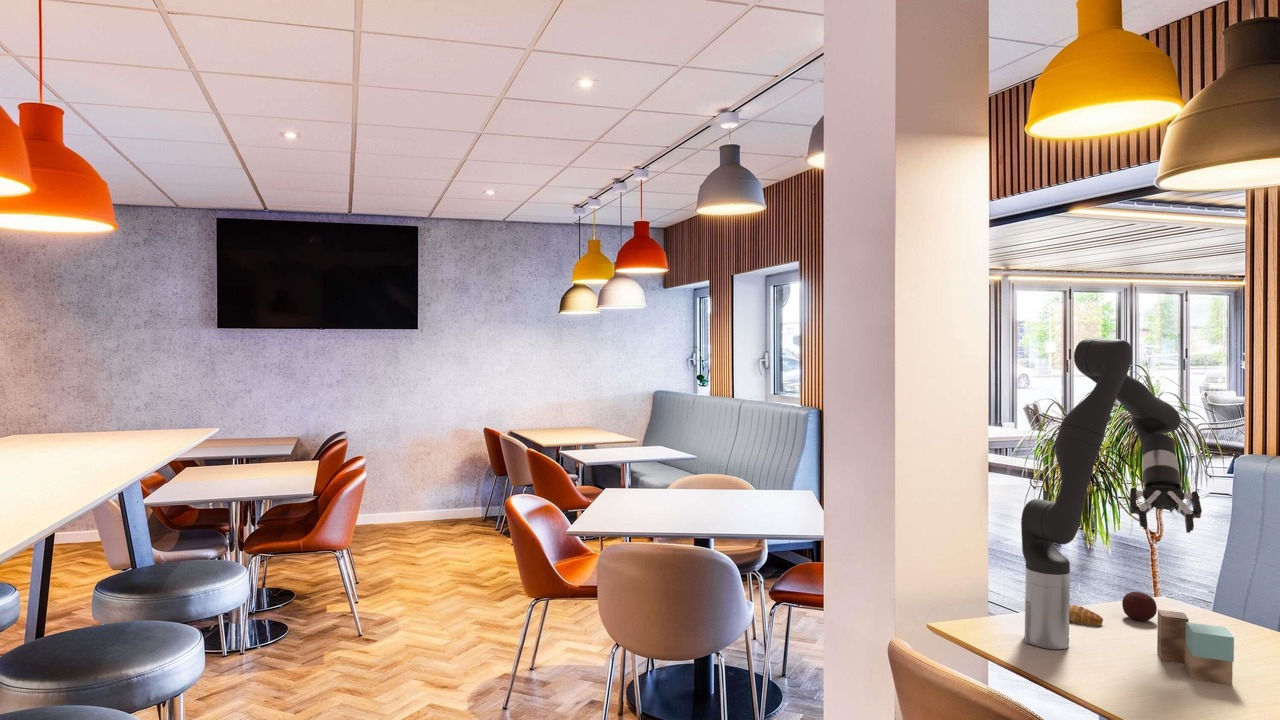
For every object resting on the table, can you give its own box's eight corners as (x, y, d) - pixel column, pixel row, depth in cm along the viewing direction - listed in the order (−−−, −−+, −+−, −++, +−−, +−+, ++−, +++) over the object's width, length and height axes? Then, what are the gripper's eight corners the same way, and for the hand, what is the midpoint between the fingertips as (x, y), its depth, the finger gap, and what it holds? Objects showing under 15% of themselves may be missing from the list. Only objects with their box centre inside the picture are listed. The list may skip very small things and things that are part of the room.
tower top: (1192, 656, 163) (1192, 632, 163) (1185, 645, 170) (1186, 622, 170) (1233, 661, 160) (1234, 637, 160) (1225, 650, 167) (1225, 627, 167)
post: (1160, 660, 173) (1161, 615, 173) (1157, 653, 178) (1157, 609, 178) (1188, 664, 171) (1188, 619, 171) (1183, 657, 176) (1184, 612, 176)
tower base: (1191, 679, 163) (1191, 655, 163) (1184, 667, 170) (1184, 644, 170) (1232, 685, 160) (1232, 661, 160) (1224, 673, 167) (1224, 650, 167)
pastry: (1106, 623, 199) (1106, 608, 199) (1098, 630, 194) (1098, 614, 194) (1065, 614, 205) (1065, 600, 205) (1057, 620, 200) (1057, 605, 200)
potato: (1132, 613, 206) (1132, 586, 206) (1163, 622, 199) (1163, 594, 199) (1115, 617, 203) (1115, 590, 203) (1145, 626, 196) (1146, 598, 196)
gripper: (1127, 462, 195) (1132, 518, 185) (1197, 465, 188) (1205, 523, 179) (1126, 479, 200) (1130, 535, 190) (1194, 483, 193) (1202, 540, 183)
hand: (1166, 529), depth 184 cm, fingers open, 8 cm apart
